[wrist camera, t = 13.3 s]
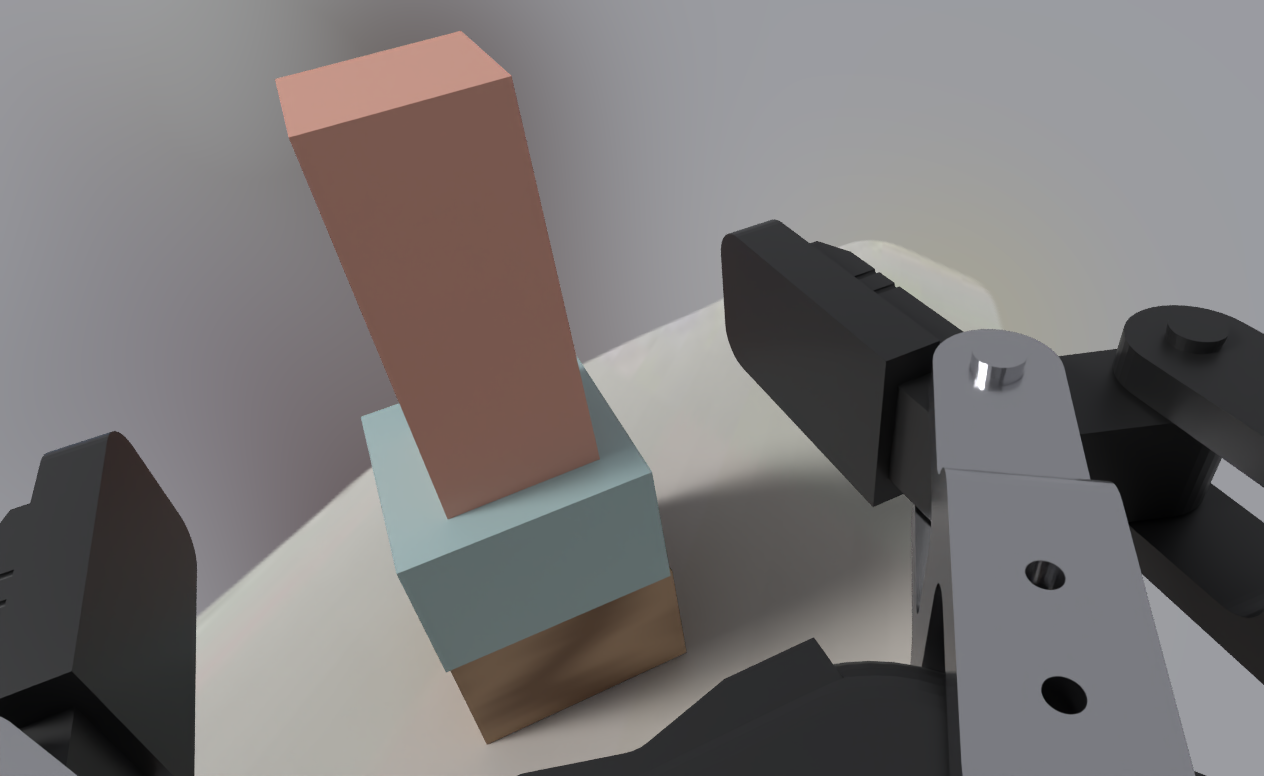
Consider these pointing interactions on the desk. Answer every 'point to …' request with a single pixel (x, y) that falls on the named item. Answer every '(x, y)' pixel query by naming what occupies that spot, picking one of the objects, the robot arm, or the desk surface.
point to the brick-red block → (447, 259)
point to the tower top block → (518, 539)
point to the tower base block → (572, 660)
